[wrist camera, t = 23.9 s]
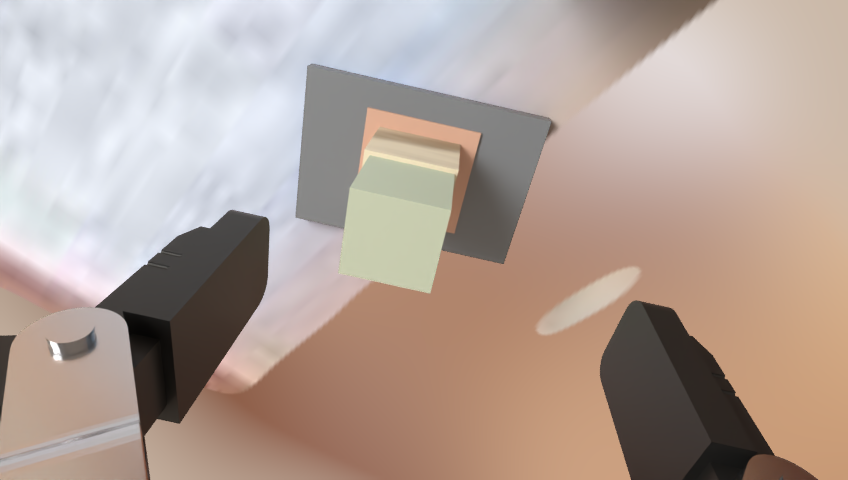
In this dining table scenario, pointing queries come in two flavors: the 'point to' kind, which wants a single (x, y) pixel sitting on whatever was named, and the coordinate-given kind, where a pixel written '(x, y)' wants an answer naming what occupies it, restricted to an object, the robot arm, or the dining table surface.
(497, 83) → the dining table surface
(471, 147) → the slate board
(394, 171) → the sage top cube
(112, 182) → the dining table surface
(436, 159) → the maple base block
